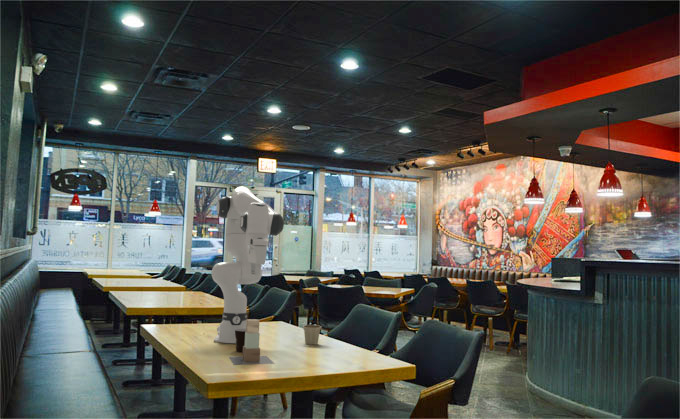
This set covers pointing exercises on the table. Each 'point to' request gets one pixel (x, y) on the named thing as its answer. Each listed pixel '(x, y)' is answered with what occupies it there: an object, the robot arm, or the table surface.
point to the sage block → (251, 340)
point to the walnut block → (251, 354)
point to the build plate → (240, 361)
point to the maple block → (252, 326)
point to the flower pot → (311, 334)
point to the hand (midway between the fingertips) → (255, 274)
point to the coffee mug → (240, 339)
